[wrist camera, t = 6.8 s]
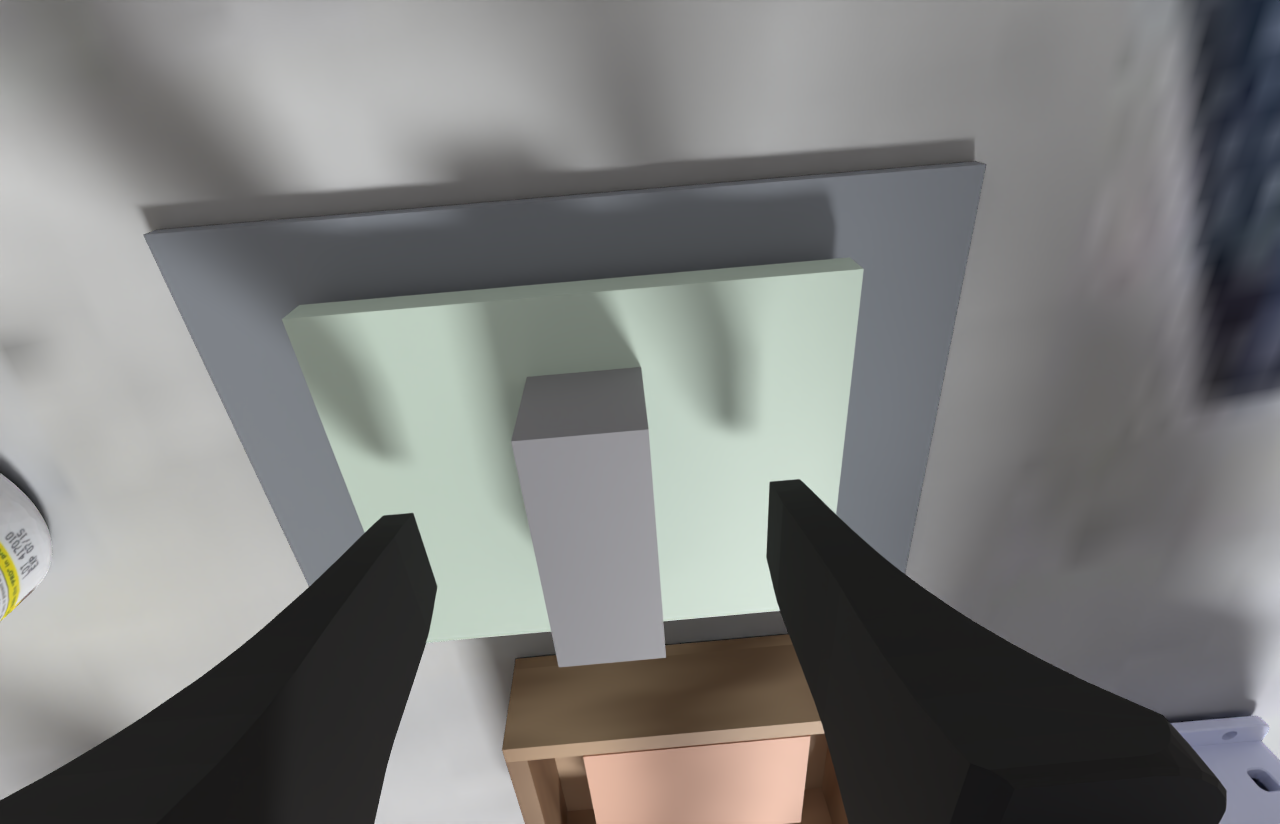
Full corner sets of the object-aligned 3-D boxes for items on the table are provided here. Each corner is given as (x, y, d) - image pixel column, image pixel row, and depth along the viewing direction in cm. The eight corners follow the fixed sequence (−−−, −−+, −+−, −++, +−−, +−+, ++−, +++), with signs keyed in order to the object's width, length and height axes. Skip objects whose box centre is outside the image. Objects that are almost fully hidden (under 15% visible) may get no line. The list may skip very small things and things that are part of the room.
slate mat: (975, 161, 13) (986, 164, 12) (896, 580, 19) (901, 590, 18) (155, 230, 13) (143, 234, 12) (340, 629, 19) (334, 640, 18)
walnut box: (856, 628, 20) (895, 714, 17) (832, 784, 24) (859, 871, 22) (515, 658, 20) (501, 750, 17) (554, 810, 24) (548, 900, 22)
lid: (841, 250, 13) (920, 314, 10) (811, 572, 18) (858, 687, 15) (309, 296, 13) (210, 376, 10) (420, 607, 18) (379, 731, 15)
